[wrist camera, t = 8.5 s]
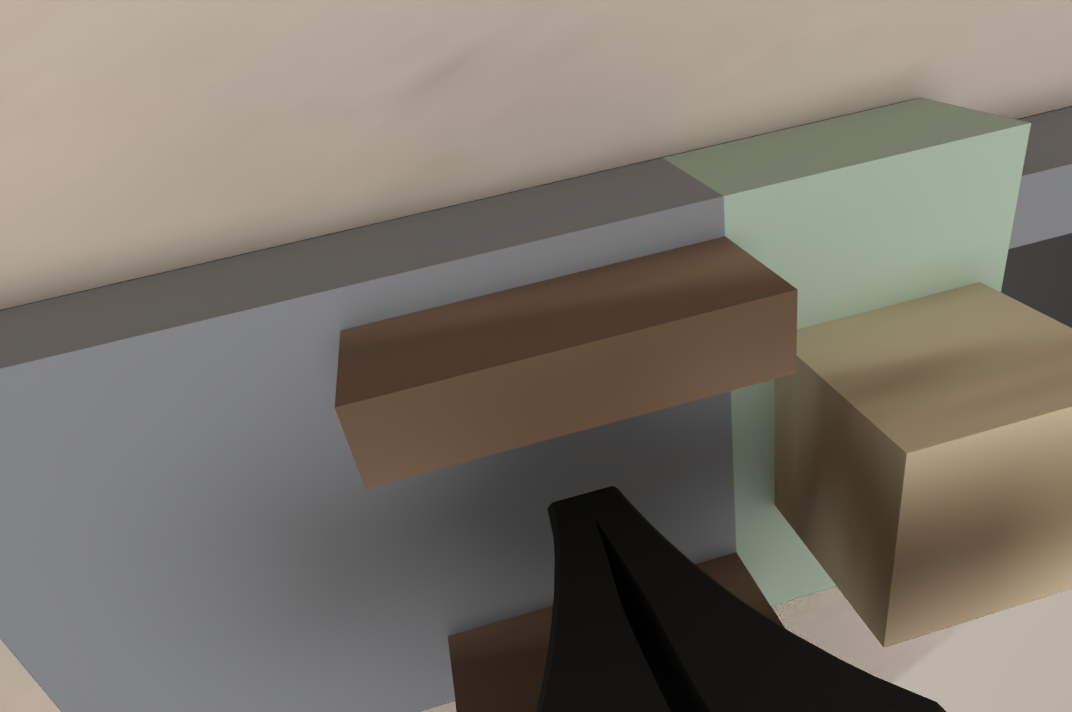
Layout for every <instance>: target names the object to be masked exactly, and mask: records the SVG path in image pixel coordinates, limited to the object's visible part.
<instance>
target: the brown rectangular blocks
mask: <svg viewBox="0 0 1072 712" xmlns="http://www.w3.org/2000/svg"><path fill="white" fill-rule="evenodd" d="M797 298H798V289H796V288H795V287H793V286H792V285H791V284H789V283H788V282H787V281H785V280H784V279H783V278H781V277H780V276H779V275H777V274H776V273H774V272H773V271H772V270H770V269H769V268H768V267H766V266H765V265H764V264H762V263H761V262H759V261H758V260H757V259H755V258H754V257H753V256H751V255H750V254H749V253H747V252H746V251H745V250H743V249H742V248H740V247H739V246H738V245H736V244H735V243H734V242H732V241H731V240H730V239H728V238H727V237H725V236H724V237H720V238H716V239H712V240H708V241H704V242H700V243H696V244H691V245H687V246H683V247H679V248H675V249H671V250H667V251H663V252H659V253H655V254H651V255H646V256H642V257H638V258H634V259H630V260H626V261H622V262H618V263H614V264H610V265H606V266H601V267H597V268H593V269H589V270H585V271H581V272H577V273H573V274H569V275H565V276H561V277H556V278H552V279H548V280H544V281H540V282H536V283H532V284H528V285H524V286H520V287H516V288H511V289H507V290H503V291H499V292H495V293H491V294H487V295H483V296H479V297H475V298H471V299H466V300H462V301H458V302H454V303H450V304H446V305H442V306H438V307H434V308H430V309H426V310H421V311H417V312H413V313H409V314H405V315H401V316H397V317H393V318H389V319H385V320H381V321H376V322H372V323H368V324H364V325H360V326H356V327H352V328H348V329H344V330H340V342H339V356H338V369H337V382H336V396H335V410H336V413H337V415H338V418H339V420H340V423H341V426H342V428H343V431H344V434H345V436H346V439H347V442H348V444H349V447H350V450H351V452H352V455H353V457H354V460H355V463H356V465H357V468H358V471H359V473H360V476H361V479H362V481H363V484H364V487H365V488H369V487H373V486H376V485H380V484H384V483H388V482H391V481H395V480H399V479H403V478H406V477H410V476H414V475H418V474H421V473H425V472H429V471H433V470H436V469H440V468H444V467H448V466H451V465H455V464H459V463H463V462H466V461H470V460H474V459H478V458H481V457H485V456H489V455H493V454H496V453H500V452H504V451H507V450H511V449H515V448H519V447H522V446H526V445H530V444H534V443H537V442H541V441H545V440H549V439H552V438H556V437H560V436H564V435H567V434H571V433H575V432H579V431H582V430H586V429H590V428H594V427H597V426H601V425H605V424H609V423H612V422H616V421H620V420H624V419H627V418H631V417H635V416H638V415H642V414H646V413H650V412H653V411H657V410H661V409H665V408H668V407H672V406H676V405H680V404H683V403H687V402H691V401H695V400H698V399H702V398H706V397H710V396H713V395H717V394H721V393H725V392H728V391H732V390H736V389H740V388H743V387H747V386H751V385H755V384H758V383H762V382H766V381H770V380H773V379H777V378H781V377H784V376H788V375H792V374H796V349H797ZM695 565H697V566H698V567H699V568H700V569H701V570H703V571H704V572H705V573H706V574H708V575H709V576H710V577H711V578H713V579H714V580H715V581H716V582H718V583H719V584H720V585H722V586H723V587H724V588H726V589H727V590H728V591H730V592H731V593H732V594H734V595H735V596H736V597H738V598H739V599H741V600H742V601H743V602H745V603H746V604H748V605H749V606H751V607H752V608H754V609H755V610H757V611H758V612H760V613H761V614H763V615H764V616H766V617H767V618H769V619H771V620H772V621H774V622H775V623H777V624H778V625H780V626H782V627H783V628H784V626H783V624H782V623H781V621H780V620H779V618H778V617H777V615H776V614H775V612H774V610H773V609H772V607H771V606H770V604H769V603H768V601H767V599H766V598H765V596H764V595H763V593H762V592H761V590H760V588H759V587H758V585H757V584H756V582H755V581H754V579H753V577H752V576H751V574H750V573H749V571H748V570H747V568H746V566H745V565H744V563H743V562H742V560H741V559H740V557H739V555H738V554H737V552H736V553H732V554H729V555H725V556H722V557H718V558H715V559H712V560H708V561H705V562H701V563H698V564H695ZM552 610H553V606H550V607H547V608H543V609H540V610H536V611H533V612H529V613H526V614H523V615H519V616H516V617H512V618H509V619H505V620H502V621H498V622H495V623H492V624H488V625H485V626H481V627H478V628H474V629H471V630H468V631H464V632H461V633H457V634H454V635H450V636H448V644H449V652H450V661H451V669H452V677H453V685H454V694H455V702H456V710H457V712H536V710H537V705H538V700H539V696H540V691H541V686H542V682H543V677H544V671H545V665H546V659H547V653H548V647H549V639H550V631H551V621H552Z"/></svg>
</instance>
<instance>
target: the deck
mask: <svg viewBox="0 0 1072 712" xmlns="http://www.w3.org/2000/svg"><path fill="white" fill-rule="evenodd" d="M724 236H725V237H727V238H728V239H730V240H731V241H732V242H734V243H735V244H736V245H738V246H739V247H740V248H742V249H743V250H745V251H746V252H747V253H749V254H750V255H751V256H753V257H754V258H755V259H757V260H758V261H759V262H761V263H762V264H764V265H765V266H766V267H768V268H769V269H770V270H772V271H773V272H774V273H776V274H777V275H779V276H780V277H781V278H783V279H784V280H785V281H787V282H788V283H789V284H791V285H792V286H793V287H795V288H796V289H798V298H797V330H798V329H802V328H806V327H810V326H813V325H817V324H821V323H825V322H829V321H832V320H836V319H840V318H844V317H848V316H852V315H855V314H859V313H863V312H867V311H871V310H874V309H878V308H882V307H886V306H890V305H894V304H897V303H901V302H905V301H909V300H913V299H916V298H920V297H924V296H928V295H932V294H935V293H939V292H943V291H947V290H951V289H955V288H958V287H962V286H966V285H970V284H974V283H977V282H981V283H983V284H985V285H987V286H989V287H991V288H993V289H995V290H997V291H999V292H1001V293H1003V294H1005V295H1007V296H1009V297H1011V298H1013V299H1015V300H1017V301H1019V302H1021V303H1023V304H1025V305H1027V306H1029V307H1031V308H1033V309H1035V310H1037V311H1039V312H1041V313H1043V314H1045V315H1047V316H1049V317H1051V318H1053V319H1055V320H1057V321H1059V322H1060V323H1062V324H1064V325H1066V326H1068V327H1070V328H1072V107H1068V108H1064V109H1060V110H1055V111H1051V112H1047V113H1043V114H1039V115H1034V116H1030V117H1026V118H1022V119H1018V120H1016V119H1012V118H1007V117H1003V116H998V115H994V114H990V113H985V112H981V111H976V110H972V109H967V108H963V107H959V106H954V105H950V104H945V103H941V102H936V101H932V100H928V99H923V98H919V99H915V100H910V101H906V102H902V103H897V104H893V105H889V106H884V107H880V108H876V109H871V110H867V111H863V112H858V113H854V114H850V115H845V116H841V117H837V118H832V119H828V120H824V121H819V122H815V123H811V124H806V125H802V126H798V127H793V128H789V129H785V130H780V131H776V132H772V133H767V134H763V135H759V136H754V137H750V138H746V139H741V140H737V141H733V142H728V143H724V144H720V145H715V146H711V147H707V148H702V149H698V150H694V151H689V152H685V153H681V154H676V155H672V156H668V157H663V158H659V159H655V160H650V161H646V162H642V163H637V164H633V165H629V166H624V167H620V168H616V169H611V170H607V171H603V172H598V173H594V174H590V175H585V176H581V177H577V178H572V179H568V180H564V181H559V182H555V183H551V184H546V185H542V186H538V187H533V188H529V189H525V190H520V191H516V192H512V193H507V194H503V195H499V196H494V197H490V198H486V199H481V200H477V201H473V202H468V203H464V204H460V205H455V206H451V207H447V208H442V209H438V210H434V211H429V212H425V213H421V214H416V215H412V216H408V217H403V218H399V219H395V220H390V221H386V222H382V223H377V224H373V225H369V226H364V227H360V228H356V229H351V230H347V231H343V232H338V233H334V234H330V235H325V236H321V237H317V238H312V239H308V240H304V241H299V242H295V243H291V244H286V245H282V246H278V247H273V248H269V249H265V250H260V251H256V252H252V253H247V254H243V255H239V256H234V257H230V258H226V259H221V260H217V261H213V262H208V263H204V264H200V265H195V266H191V267H187V268H182V269H178V270H174V271H169V272H165V273H161V274H156V275H152V276H148V277H143V278H139V279H135V280H130V281H126V282H122V283H117V284H113V285H109V286H104V287H100V288H96V289H91V290H87V291H83V292H78V293H74V294H70V295H65V296H61V297H57V298H52V299H48V300H44V301H39V302H35V303H31V304H26V305H22V306H18V307H13V308H9V309H5V310H1V311H0V639H1V640H2V641H3V643H4V644H5V645H6V646H7V647H8V649H9V650H10V651H11V652H12V653H13V655H14V656H15V657H16V658H17V659H18V661H19V662H20V663H21V664H22V665H23V667H24V668H25V669H26V670H27V671H28V673H29V674H30V675H31V676H32V677H33V679H34V680H35V681H36V682H37V683H38V685H39V686H40V687H41V688H42V689H43V691H44V692H45V693H46V694H47V695H48V697H49V698H50V699H51V700H52V701H53V702H54V704H55V705H56V706H57V707H58V708H59V710H60V711H61V712H420V711H423V710H426V709H430V708H433V707H436V706H440V705H443V704H446V703H450V702H453V701H455V694H454V685H453V677H452V669H451V661H450V652H449V644H448V636H450V635H454V634H457V633H461V632H464V631H468V630H471V629H474V628H478V627H481V626H485V625H488V624H492V623H495V622H498V621H502V620H505V619H509V618H512V617H516V616H519V615H523V614H526V613H529V612H533V611H536V610H540V609H543V608H547V607H550V606H553V599H554V565H555V556H554V539H553V534H552V529H551V525H550V520H549V515H548V510H547V508H548V507H549V506H550V504H551V503H552V502H555V501H559V500H563V499H566V498H570V497H574V496H577V495H581V494H585V493H588V492H592V491H595V490H599V489H603V488H606V487H610V486H614V487H616V488H618V489H619V490H620V491H621V492H622V493H623V495H624V496H625V497H626V498H627V499H628V500H629V502H630V503H631V504H632V505H633V506H634V507H635V508H636V509H637V510H638V511H639V512H640V513H641V514H642V516H643V517H644V518H645V519H646V520H647V521H648V522H649V523H650V524H651V525H652V526H653V527H654V528H655V529H656V530H657V531H659V532H660V533H661V534H662V535H663V536H664V537H665V538H666V539H667V540H668V541H669V542H670V543H671V544H673V545H674V546H675V547H676V548H677V549H678V550H679V551H680V552H682V553H683V554H684V555H685V556H686V557H687V558H688V559H689V560H691V561H692V562H693V563H694V564H698V563H701V562H705V561H708V560H712V559H715V558H718V557H722V556H725V555H729V554H732V553H736V552H737V554H738V555H739V557H740V559H741V560H742V562H743V563H744V565H745V566H746V568H747V570H748V571H749V573H750V574H751V576H752V577H753V579H754V581H755V582H756V584H757V585H758V587H759V588H760V590H761V592H762V593H763V595H764V596H765V598H766V599H767V601H768V603H769V604H770V606H773V605H776V604H779V603H783V602H786V601H789V600H793V599H796V598H799V597H803V596H806V595H809V594H813V593H816V592H819V591H823V590H826V589H829V588H833V587H836V584H835V583H834V582H833V581H832V579H831V578H830V577H829V575H828V574H827V573H826V571H825V570H824V569H823V568H822V566H821V565H820V564H819V562H818V561H817V560H816V558H815V557H814V556H813V554H812V553H811V552H810V551H809V549H808V548H807V547H806V545H805V544H804V543H803V541H802V540H801V539H800V537H799V536H798V535H797V534H796V532H795V531H794V530H793V528H792V527H791V526H790V524H789V523H788V522H787V521H786V519H785V518H784V517H783V515H782V514H781V513H780V511H779V510H778V509H777V507H776V506H775V379H773V380H770V381H766V382H762V383H758V384H755V385H751V386H747V387H743V388H740V389H736V390H732V391H728V392H725V393H721V394H717V395H713V396H710V397H706V398H702V399H698V400H695V401H691V402H687V403H683V404H680V405H676V406H672V407H668V408H665V409H661V410H657V411H653V412H650V413H646V414H642V415H638V416H635V417H631V418H627V419H624V420H620V421H616V422H612V423H609V424H605V425H601V426H597V427H594V428H590V429H586V430H582V431H579V432H575V433H571V434H567V435H564V436H560V437H556V438H552V439H549V440H545V441H541V442H537V443H534V444H530V445H526V446H522V447H519V448H515V449H511V450H507V451H504V452H500V453H496V454H493V455H489V456H485V457H481V458H478V459H474V460H470V461H466V462H463V463H459V464H455V465H451V466H448V467H444V468H440V469H436V470H433V471H429V472H425V473H421V474H418V475H414V476H410V477H406V478H403V479H399V480H395V481H391V482H388V483H384V484H380V485H376V486H373V487H369V488H365V487H364V484H363V481H362V479H361V476H360V473H359V471H358V468H357V465H356V463H355V460H354V457H353V455H352V452H351V450H350V447H349V444H348V442H347V439H346V436H345V434H344V431H343V428H342V426H341V423H340V420H339V418H338V415H337V413H336V410H335V396H336V382H337V369H338V356H339V342H340V330H344V329H348V328H352V327H356V326H360V325H364V324H368V323H372V322H376V321H381V320H385V319H389V318H393V317H397V316H401V315H405V314H409V313H413V312H417V311H421V310H426V309H430V308H434V307H438V306H442V305H446V304H450V303H454V302H458V301H462V300H466V299H471V298H475V297H479V296H483V295H487V294H491V293H495V292H499V291H503V290H507V289H511V288H516V287H520V286H524V285H528V284H532V283H536V282H540V281H544V280H548V279H552V278H556V277H561V276H565V275H569V274H573V273H577V272H581V271H585V270H589V269H593V268H597V267H601V266H606V265H610V264H614V263H618V262H622V261H626V260H630V259H634V258H638V257H642V256H646V255H651V254H655V253H659V252H663V251H667V250H671V249H675V248H679V247H683V246H687V245H691V244H696V243H700V242H704V241H708V240H712V239H716V238H720V237H724Z"/></svg>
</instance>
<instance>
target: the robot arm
mask: <svg viewBox="0 0 1072 712" xmlns="http://www.w3.org/2000/svg"><path fill="white" fill-rule="evenodd" d="M547 510H548V515H549V520H550V525H551V529H552V534H553V539H554V556H555V565H554V599H553V610H552V621H551V631H550V639H549V647H548V653H547V659H546V665H545V671H544V677H543V682H542V686H541V691H540V696H539V700H538V705H537V710H536V712H946V711H945V710H944V709H943V708H942V707H941V706H940V705H939V704H938V703H937V702H935V701H933V700H930V699H928V698H925V697H923V696H921V695H918V694H915V693H913V692H911V691H908V690H906V689H903V688H901V687H899V686H896V685H894V684H892V683H889V682H887V681H884V680H882V679H879V678H877V677H875V676H873V675H871V674H869V673H867V672H865V671H863V670H861V669H859V668H857V667H854V666H852V665H850V664H848V663H846V662H844V661H842V660H840V659H838V658H837V657H835V656H833V655H831V654H829V653H827V652H826V651H824V650H822V649H820V648H818V647H817V646H815V645H813V644H811V643H809V642H808V641H806V640H804V639H802V638H800V637H799V636H797V635H795V634H793V633H791V632H790V631H788V630H786V629H785V628H783V627H782V626H780V625H778V624H777V623H775V622H774V621H772V620H771V619H769V618H767V617H766V616H764V615H763V614H761V613H760V612H758V611H757V610H755V609H754V608H752V607H751V606H749V605H748V604H746V603H745V602H743V601H742V600H741V599H739V598H738V597H736V596H735V595H734V594H732V593H731V592H730V591H728V590H727V589H726V588H724V587H723V586H722V585H720V584H719V583H718V582H716V581H715V580H714V579H713V578H711V577H710V576H709V575H708V574H706V573H705V572H704V571H703V570H701V569H700V568H699V567H698V566H697V565H695V564H694V563H693V562H692V561H691V560H689V559H688V558H687V557H686V556H685V555H684V554H683V553H682V552H680V551H679V550H678V549H677V548H676V547H675V546H674V545H673V544H671V543H670V542H669V541H668V540H667V539H666V538H665V537H664V536H663V535H662V534H661V533H660V532H659V531H657V530H656V529H655V528H654V527H653V526H652V525H651V524H650V523H649V522H648V521H647V520H646V519H645V518H644V517H643V516H642V514H641V513H640V512H639V511H638V510H637V509H636V508H635V507H634V506H633V505H632V504H631V503H630V502H629V500H628V499H627V498H626V497H625V496H624V495H623V493H622V492H621V491H620V490H619V489H618V488H616V487H614V486H610V487H606V488H603V489H599V490H595V491H592V492H588V493H585V494H581V495H577V496H574V497H570V498H566V499H563V500H559V501H555V502H552V503H551V504H550V506H549V507H548V508H547Z"/></svg>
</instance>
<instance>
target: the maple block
mask: <svg viewBox="0 0 1072 712" xmlns="http://www.w3.org/2000/svg"><path fill="white" fill-rule="evenodd" d="M775 506H776V507H777V509H778V510H779V511H780V513H781V514H782V515H783V517H784V518H785V519H786V521H787V522H788V523H789V524H790V526H791V527H792V528H793V530H794V531H795V532H796V534H797V535H798V536H799V537H800V539H801V540H802V541H803V543H804V544H805V545H806V547H807V548H808V549H809V551H810V552H811V553H812V554H813V556H814V557H815V558H816V560H817V561H818V562H819V564H820V565H821V566H822V568H823V569H824V570H825V571H826V573H827V574H828V575H829V577H830V578H831V579H832V581H833V582H834V583H835V584H836V586H837V587H838V588H839V590H840V591H841V592H842V594H843V595H844V596H845V598H846V599H847V600H848V601H849V603H850V604H851V605H852V607H853V608H854V609H855V611H856V612H857V613H858V615H859V616H860V617H861V618H862V620H863V621H864V622H865V624H866V625H867V626H868V628H869V629H870V630H871V631H872V633H873V634H874V635H875V637H876V638H877V639H878V641H879V642H880V643H881V645H882V646H883V647H887V646H890V645H893V644H897V643H900V642H903V641H906V640H909V639H913V638H916V637H919V636H922V635H925V634H929V633H932V632H935V631H938V630H941V629H945V628H948V627H951V626H954V625H957V624H961V623H964V622H967V621H970V620H973V619H977V618H980V617H983V616H986V615H989V614H993V613H996V612H999V611H1002V610H1005V609H1009V608H1012V607H1015V606H1018V605H1021V604H1024V603H1028V602H1031V601H1034V600H1037V599H1040V598H1044V597H1047V596H1050V595H1053V594H1057V593H1059V592H1063V591H1066V590H1069V589H1072V328H1070V327H1068V326H1066V325H1064V324H1062V323H1060V322H1059V321H1057V320H1055V319H1053V318H1051V317H1049V316H1047V315H1045V314H1043V313H1041V312H1039V311H1037V310H1035V309H1033V308H1031V307H1029V306H1027V305H1025V304H1023V303H1021V302H1019V301H1017V300H1015V299H1013V298H1011V297H1009V296H1007V295H1005V294H1003V293H1001V292H999V291H997V290H995V289H993V288H991V287H989V286H987V285H985V284H983V283H981V282H977V283H974V284H970V285H966V286H962V287H958V288H955V289H951V290H947V291H943V292H939V293H935V294H932V295H928V296H924V297H920V298H916V299H913V300H909V301H905V302H901V303H897V304H894V305H890V306H886V307H882V308H878V309H874V310H871V311H867V312H863V313H859V314H855V315H852V316H848V317H844V318H840V319H836V320H832V321H829V322H825V323H821V324H817V325H813V326H810V327H806V328H802V329H798V330H797V349H796V374H792V375H788V376H784V377H781V378H777V379H775Z"/></svg>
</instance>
